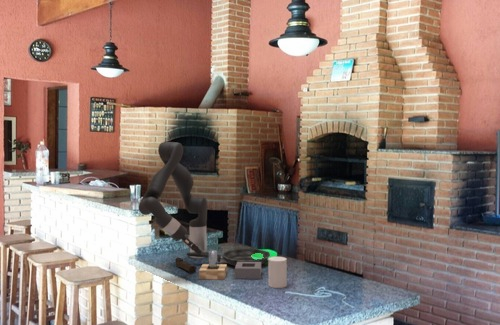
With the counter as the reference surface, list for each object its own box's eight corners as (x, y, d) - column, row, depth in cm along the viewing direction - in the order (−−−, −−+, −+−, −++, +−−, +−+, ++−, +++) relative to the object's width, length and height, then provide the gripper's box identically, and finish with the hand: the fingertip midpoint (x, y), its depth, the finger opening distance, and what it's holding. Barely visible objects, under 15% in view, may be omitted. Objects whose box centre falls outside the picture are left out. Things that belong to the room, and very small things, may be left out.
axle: (209, 274, 245) (209, 250, 244) (217, 274, 245) (217, 250, 244) (208, 276, 241) (208, 252, 240) (216, 276, 241) (216, 252, 240)
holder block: (237, 271, 249) (237, 261, 249) (261, 271, 249) (261, 261, 248) (235, 278, 237) (235, 268, 237) (260, 279, 237) (260, 268, 236)
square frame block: (202, 271, 249) (202, 264, 249) (226, 272, 249) (226, 264, 248) (198, 279, 237) (198, 270, 237) (224, 279, 237) (224, 270, 236)
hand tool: (196, 273, 248) (196, 263, 248) (189, 274, 246) (189, 265, 246) (181, 264, 264) (180, 255, 264) (174, 265, 262) (173, 257, 262)
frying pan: (267, 256, 279) (267, 244, 279) (272, 269, 254) (272, 255, 254) (187, 259, 275) (187, 246, 275) (185, 271, 250) (185, 258, 250)
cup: (288, 283, 230) (288, 257, 229) (283, 288, 222) (283, 261, 221) (271, 281, 232) (271, 256, 232) (266, 287, 225) (266, 260, 224)
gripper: (182, 225, 230) (207, 248, 234) (177, 220, 244) (201, 242, 248) (170, 238, 229) (196, 261, 233) (166, 232, 243) (191, 253, 247)
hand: (198, 251), depth 240 cm, fingers open, 8 cm apart
